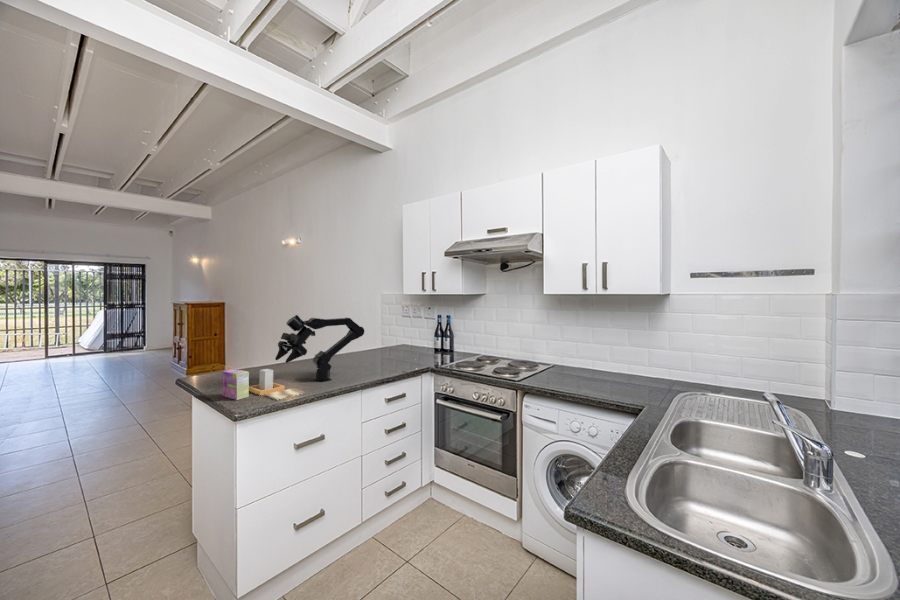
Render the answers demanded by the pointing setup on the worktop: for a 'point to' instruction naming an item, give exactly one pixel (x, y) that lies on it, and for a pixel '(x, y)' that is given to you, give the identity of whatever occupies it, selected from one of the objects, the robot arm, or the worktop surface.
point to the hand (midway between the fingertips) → (280, 361)
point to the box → (236, 384)
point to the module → (266, 379)
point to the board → (284, 394)
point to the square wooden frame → (261, 392)
